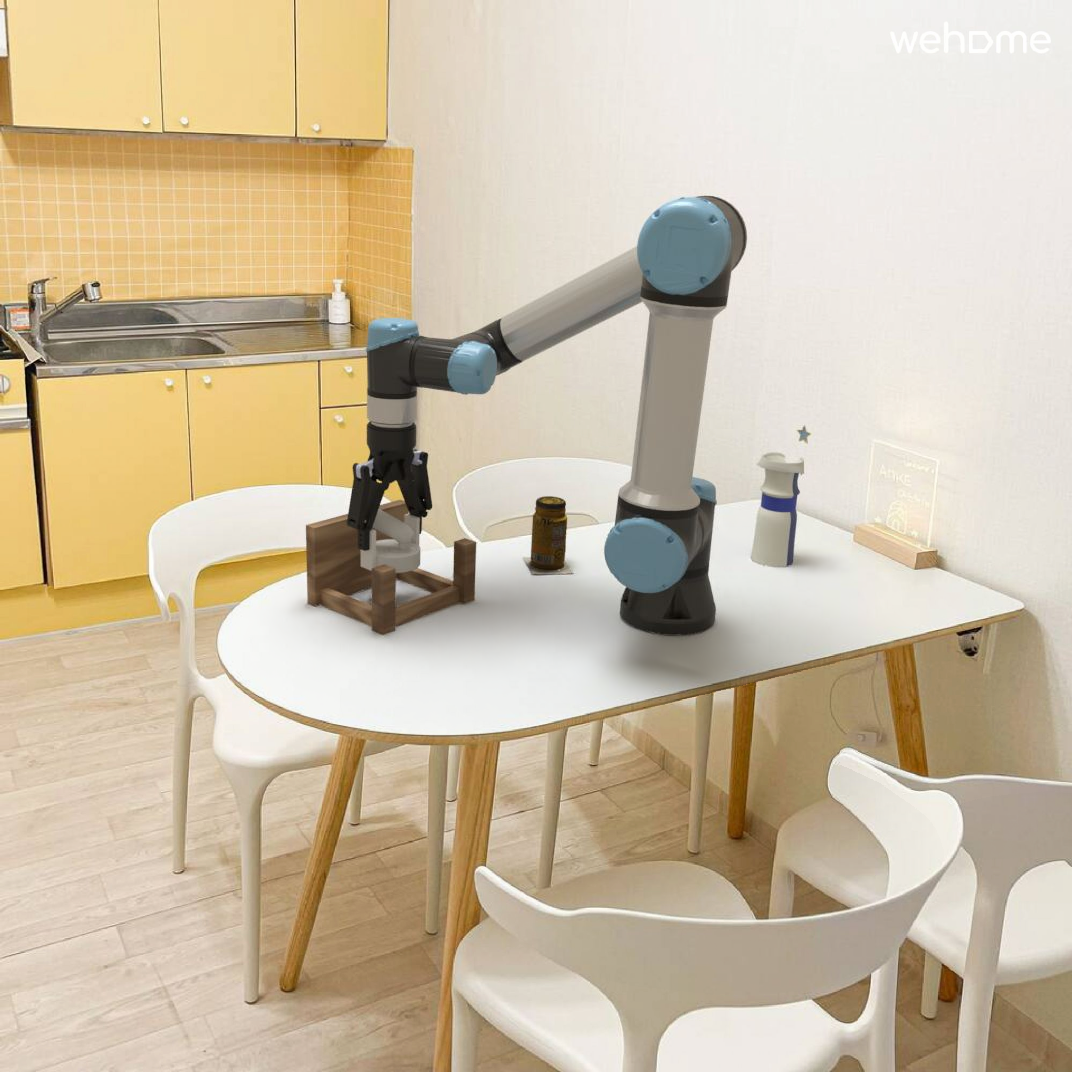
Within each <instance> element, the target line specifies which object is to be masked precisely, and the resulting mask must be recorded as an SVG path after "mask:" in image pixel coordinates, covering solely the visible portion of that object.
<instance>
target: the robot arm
mask: <svg viewBox="0 0 1072 1072" xmlns="http://www.w3.org/2000/svg"><path fill="white" fill-rule="evenodd" d="M747 234H748V231H747V227H746V223H745V220H744V218H743V216H742V214H741V213H740V211H739V210H738V209H737V208H736V207H735V206H734V205H733V204H732V203H730V202H728V201H727V200H726V199H723V198H721V197H718V196H714V195H699V196H698V195H697V196H689V197H688V196H687V197H685V196H682V197H677V198H675V199H672V200H668V201H667V202H665V203H663V204H662V205H661V206H659V207H658V208H656V210H655V211H653V212H652V213H651V214H650V215H649V216H648V218H647V219H646V221H645V222H644V224H643V226H642V227H641V229H640V232H639V235H638V238H637V245H636V246H635V247H633V248H631V249H629V250H627V251H625V252H622V253H621V254H620V255H619V254H618V256H616V257H614V258H611V259H610V260H608V261H606V262H605V263H602V264H600V265H599V266H596V267H594V268H593V269H591V270H588V271H587V272H586V273H583V274H582V275H579V276H578V277H576V278H573V279H572V280H570V281H568V282H566V283H565V284H563V285H561V286H559V287H557V288H555V289H553V290H551V291H549V292H548V293H546V294H544V295H542V296H540V297H537V299H535V300H532V301H530V302H528V303H527V304H525V305H523V306H521V307H520V308H517V309H515V310H514V311H512V312H510V313H508V314H506V315H505V316H504V315H503V317H501V318H499V319H497V320H494V321H493V322H491V323H488V324H487V325H485V326H483V327H481V328H479V329H477V330H475V331H472V332H470V333H466V334H463V335H460V336H457V337H455V338H439V337H429V336H424V335H420V331H419V325H418V323H417V322H416V321H415V320H412V319H408V318H401V317H381V318H376V319H373V320H372V321H371V322H370V323H369V324H368V327H367V339H366V341H367V342H366V348H365V352H366V360H367V361H366V367H367V368H366V369H367V370H366V373H367V374H366V375H367V378H366V379H367V383H366V385H367V387H366V388H367V389H366V418H367V420H368V421H369V422H368V423H367V424H366V445H367V447H368V449H369V456H368V458H367V461H365V462H363V463H359V462H355V463H353V464H352V475H353V481H352V486H351V494H350V500H349V506H348V512H347V514H348V518H347V525H348V526H350V527H352V528H355V529H357V530H358V548H359V549H361V567H363V568H366V569H368V570H371V571H372V568H374V567H376V530H374V529H372V527H373V524H374V521H375V518H376V515H377V512H378V509H379V506H380V505H382V504H381V503H382V500H383V498H384V494H385V491H387V490H389V487H390V485H391V484H392V483H394V482H397V485H398V487H399V491H400V493H401V495H402V499H403V501H405V503H406V506H407V508H408V511H409V512H408V514H405V520H404V523H405V524H407V525H409V526H410V527H411V528H412V529H413V532H414V537H413V539H412V540H411V542H413V543H416V544H417V545H419V546H420V535H421V534H422V532H423V528H422V527H423V518H427V517H428V513H429V512H428V511H431V510H432V508H433V501H432V493H431V488H430V487H431V486H430V485H431V484H430V481H429V480H430V478H429V472H428V460H429V452H425V451H423V450H420V449H414V448H415V447H416V446H417V425H416V423H415V421H417V420H418V418H417V417H418V415H417V412H418V411H417V409H418V408H417V407H418V405H417V404H418V402H417V399H418V398H417V397H418V388H424V389H430V390H437V391H444V392H451V393H457V394H461V395H485V394H487V393H488V392H489V391H490V390H491V388H492V386H493V385H494V383H495V380H496V377H497V376H499V375H501V374H503V373H506V372H507V371H509V370H510V369H512V368H514V367H515V366H518V365H520V364H521V363H523V362H524V361H527V360H529V359H531V358H533V357H535V356H537V355H539V354H541V353H543V352H545V351H547V350H549V349H551V348H553V347H555V346H557V345H559V344H561V343H563V342H564V341H567V340H569V339H571V338H573V337H575V336H577V335H579V334H581V333H583V332H585V331H587V330H589V329H591V328H594V327H595V326H596V325H597V326H598V325H599V324H600V323H603V322H605V321H607V320H609V319H611V318H613V317H615V316H617V315H619V314H621V313H623V312H625V311H628V310H630V309H631V308H633V307H636V305H639V304H641V303H643V304H644V305H645V307H646V308H647V310H648V312H649V317H648V325H647V334H646V335H647V336H646V341H645V352H644V360H643V361H644V362H643V368H642V379H641V386H640V395H639V403H638V405H639V406H638V412H637V413H638V414H637V422H636V431H635V439H634V448H633V455H632V456H633V457H632V466H631V476H630V480H629V481H627V482H626V483H625V484H624V485H622V486H621V487H620V488H619V489H618V495H617V503H616V510H615V521H614V526H613V527H611V529H610V530H609V532H608V534H607V537H606V539H605V541H604V548H603V549H604V550H603V551H604V552H603V553H604V560H605V564H606V566H607V569H608V570H609V572H610V573H611V574H612V575H613V577H614V578H615V579H616V580H617V581H618V582H619V583H620V584H621V585H623V586H624V587H625V589H624V591H623V593H622V596H621V598H620V602H619V603H620V604H619V616H620V618H621V619H622V620H623V621H624V622H625V623H627V625H629V626H631V627H634V628H635V629H639V630H640V631H644V632H648V633H652V634H658V635H666V636H687V635H688V636H689V635H696V634H700V633H703V632H706V631H708V630H709V629H711V628H712V627H713V626H714V625H715V622H716V614H717V606H716V603H715V598H714V594H713V589H712V585H711V581H710V577H709V570H710V569H709V568H710V559H711V550H712V540H713V531H714V521H715V510H716V509H715V508H716V505H717V502H718V501H717V498H716V497H717V489H716V486H715V485H714V483H713V482H711V481H709V480H708V479H704V478H700V477H695V476H693V474H694V467H695V461H696V452H697V446H698V436H699V430H700V429H699V428H700V424H701V423H700V422H701V414H702V408H703V399H704V392H705V386H706V378H707V377H706V376H707V369H708V363H709V355H710V347H711V340H712V339H711V338H712V333H713V332H712V331H713V325H714V324H713V323H714V319H715V317H717V316H718V315H719V314H720V313H722V312H723V311H724V310H726V308H727V305H728V299H729V298H728V297H729V290H730V287H731V286H730V285H731V284H730V283H731V279H732V272H733V271H734V269H735V268H737V266H738V265H739V264H740V262H741V260H742V259H743V257H744V254H745V251H746V248H747V242H748V235H747ZM365 520H366V522H365Z"/></svg>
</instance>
